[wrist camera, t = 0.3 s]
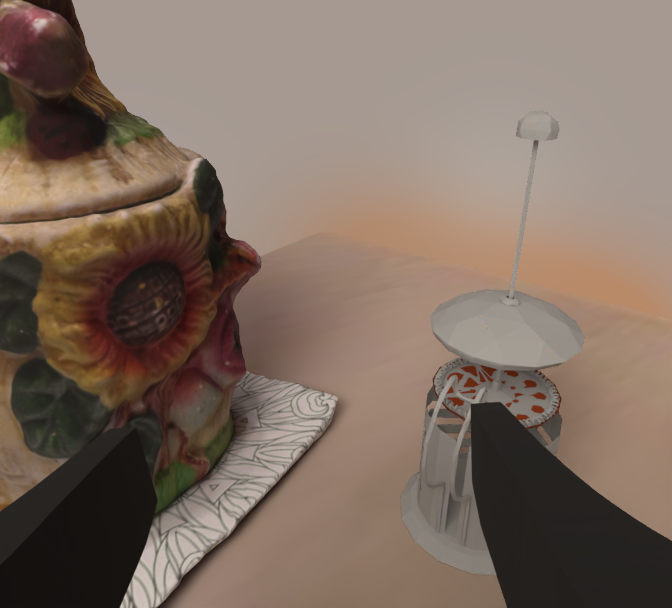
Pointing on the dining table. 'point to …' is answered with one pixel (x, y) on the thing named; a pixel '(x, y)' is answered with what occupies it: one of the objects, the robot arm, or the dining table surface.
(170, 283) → the cookie jar
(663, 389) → the dining table surface
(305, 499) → the dining table surface
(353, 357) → the dining table surface
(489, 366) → the french press
